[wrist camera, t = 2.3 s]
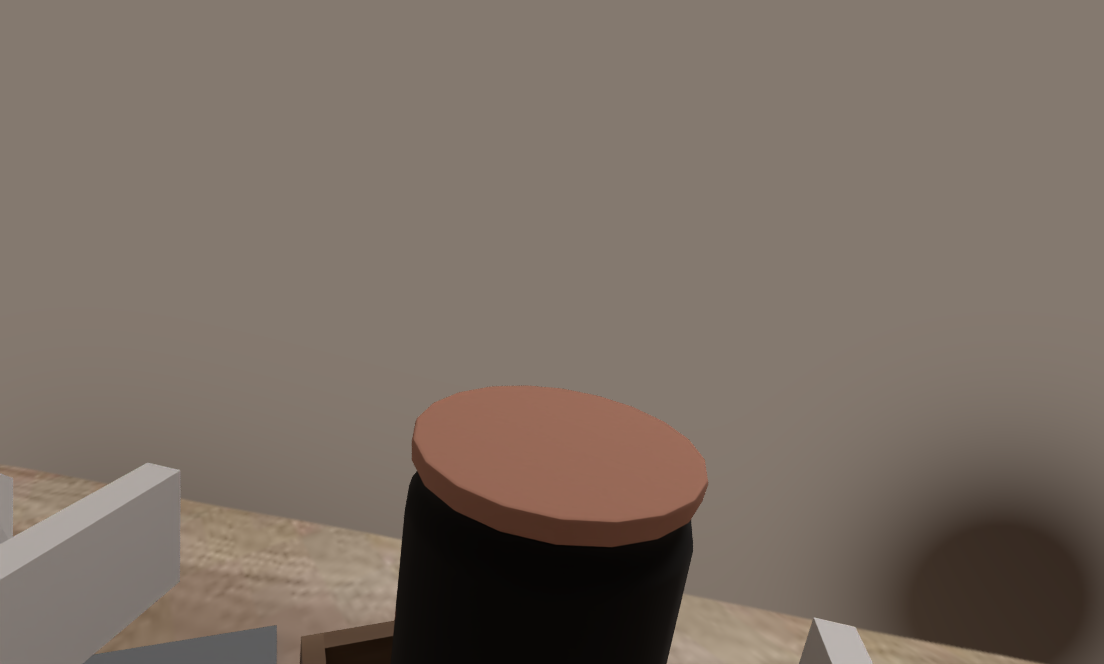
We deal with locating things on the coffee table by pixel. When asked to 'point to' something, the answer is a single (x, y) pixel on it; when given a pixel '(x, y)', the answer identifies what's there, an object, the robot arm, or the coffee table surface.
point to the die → (6, 508)
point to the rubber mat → (202, 650)
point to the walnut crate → (350, 646)
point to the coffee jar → (544, 531)
